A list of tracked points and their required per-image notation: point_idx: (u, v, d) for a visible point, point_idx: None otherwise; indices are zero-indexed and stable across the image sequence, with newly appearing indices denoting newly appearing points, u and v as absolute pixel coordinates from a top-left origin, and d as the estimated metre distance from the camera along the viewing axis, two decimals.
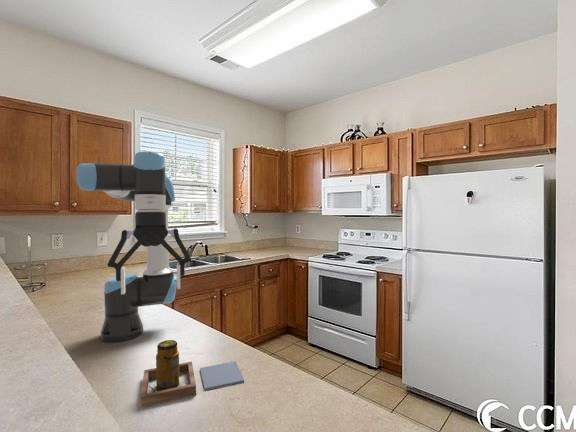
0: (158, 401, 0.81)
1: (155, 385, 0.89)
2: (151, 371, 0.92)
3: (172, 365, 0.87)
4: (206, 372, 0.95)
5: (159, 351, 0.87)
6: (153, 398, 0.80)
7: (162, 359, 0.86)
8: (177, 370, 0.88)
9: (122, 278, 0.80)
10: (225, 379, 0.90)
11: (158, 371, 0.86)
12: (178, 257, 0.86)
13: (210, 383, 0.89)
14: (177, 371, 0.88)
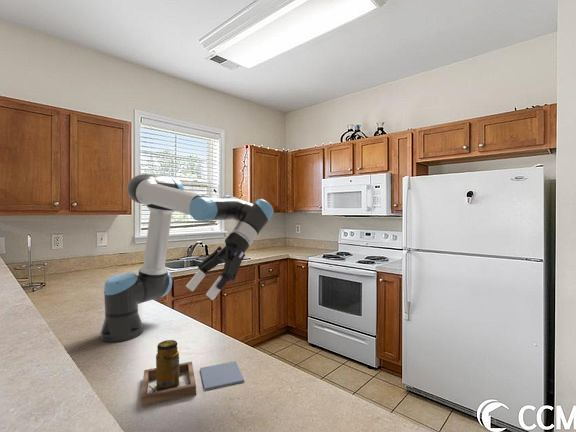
0: (158, 401, 0.81)
1: (155, 385, 0.89)
2: (151, 371, 0.92)
3: (172, 365, 0.87)
4: (206, 372, 0.95)
5: (159, 351, 0.87)
6: (153, 398, 0.80)
7: (162, 359, 0.86)
8: (177, 370, 0.88)
9: None
10: (225, 379, 0.90)
11: (158, 371, 0.86)
12: None
13: (210, 383, 0.89)
14: (177, 371, 0.88)
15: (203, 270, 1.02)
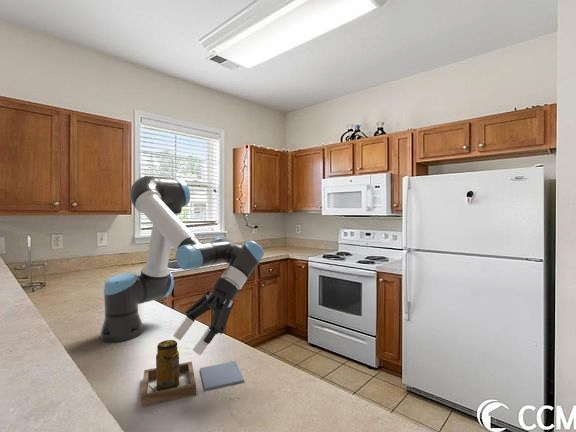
0: (158, 401, 0.81)
1: (155, 385, 0.89)
2: (151, 371, 0.92)
3: (172, 365, 0.87)
4: (206, 372, 0.95)
5: (159, 351, 0.87)
6: (153, 398, 0.80)
7: (162, 359, 0.86)
8: (177, 370, 0.88)
9: None
10: (225, 379, 0.90)
11: (158, 371, 0.86)
12: None
13: (210, 383, 0.89)
14: (177, 371, 0.88)
15: (191, 317, 0.99)
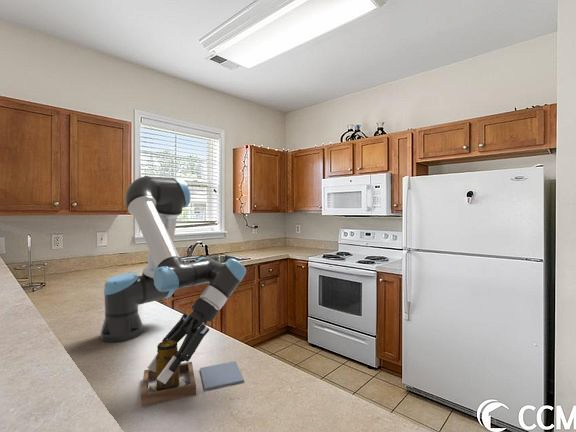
0: (158, 401, 0.81)
1: (155, 385, 0.88)
2: (151, 371, 0.92)
3: None
4: (206, 372, 0.95)
5: (159, 351, 0.86)
6: (153, 398, 0.80)
7: (162, 359, 0.86)
8: (177, 370, 0.88)
9: None
10: (225, 379, 0.90)
11: (158, 371, 0.86)
12: None
13: (210, 383, 0.89)
14: (177, 371, 0.88)
15: None
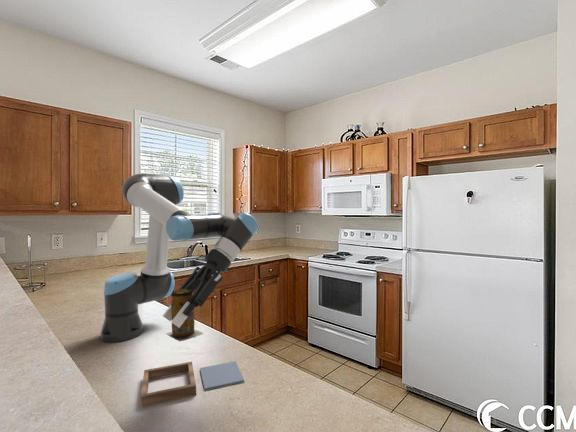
0: (158, 401, 0.81)
1: (171, 333, 0.89)
2: (151, 371, 0.92)
3: None
4: (206, 372, 0.95)
5: (174, 298, 0.87)
6: (153, 398, 0.80)
7: (177, 305, 0.86)
8: (192, 318, 0.88)
9: None
10: (225, 379, 0.90)
11: None
12: None
13: (210, 383, 0.89)
14: (192, 319, 0.88)
15: None
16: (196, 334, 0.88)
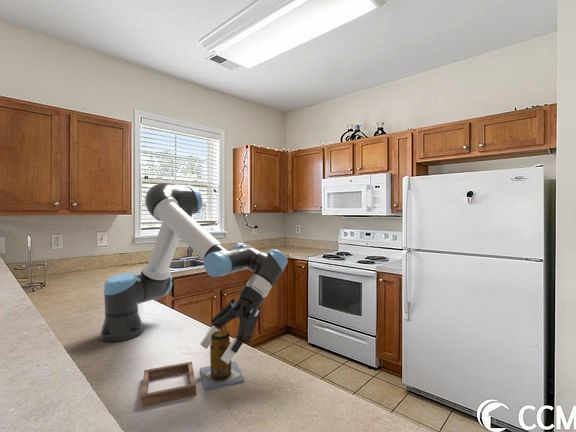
0: (158, 401, 0.81)
1: (209, 373, 0.93)
2: (151, 371, 0.92)
3: None
4: (206, 372, 0.95)
5: (214, 341, 0.91)
6: (153, 398, 0.80)
7: (217, 348, 0.90)
8: None
9: None
10: None
11: (213, 360, 0.91)
12: None
13: (210, 383, 0.89)
14: None
15: (217, 325, 1.00)
16: (234, 375, 0.92)
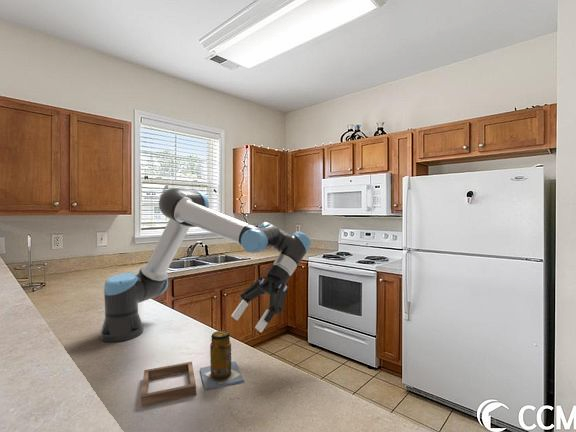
0: (158, 401, 0.81)
1: (209, 373, 0.93)
2: (151, 371, 0.92)
3: (226, 354, 0.91)
4: (206, 372, 0.95)
5: (214, 341, 0.91)
6: (153, 398, 0.80)
7: (217, 348, 0.90)
8: (230, 359, 0.93)
9: None
10: None
11: (213, 360, 0.91)
12: None
13: (210, 383, 0.89)
14: (230, 360, 0.93)
15: (246, 300, 1.09)
16: (234, 375, 0.92)
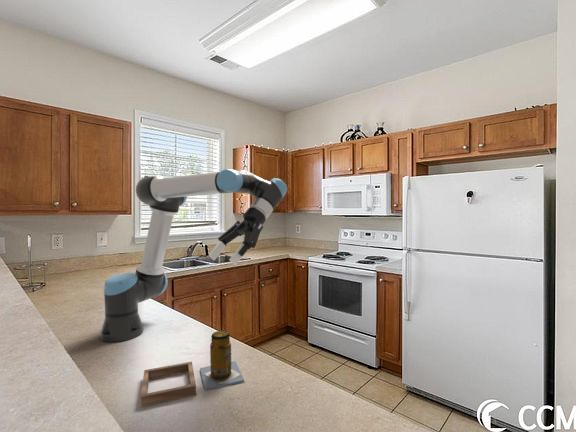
0: (158, 401, 0.81)
1: (209, 373, 0.93)
2: (151, 371, 0.92)
3: (226, 354, 0.91)
4: (206, 372, 0.95)
5: (214, 341, 0.91)
6: (153, 398, 0.80)
7: (217, 348, 0.90)
8: (230, 359, 0.93)
9: None
10: None
11: (213, 360, 0.91)
12: None
13: (210, 383, 0.89)
14: (230, 360, 0.93)
15: (223, 242, 1.12)
16: (234, 375, 0.92)
